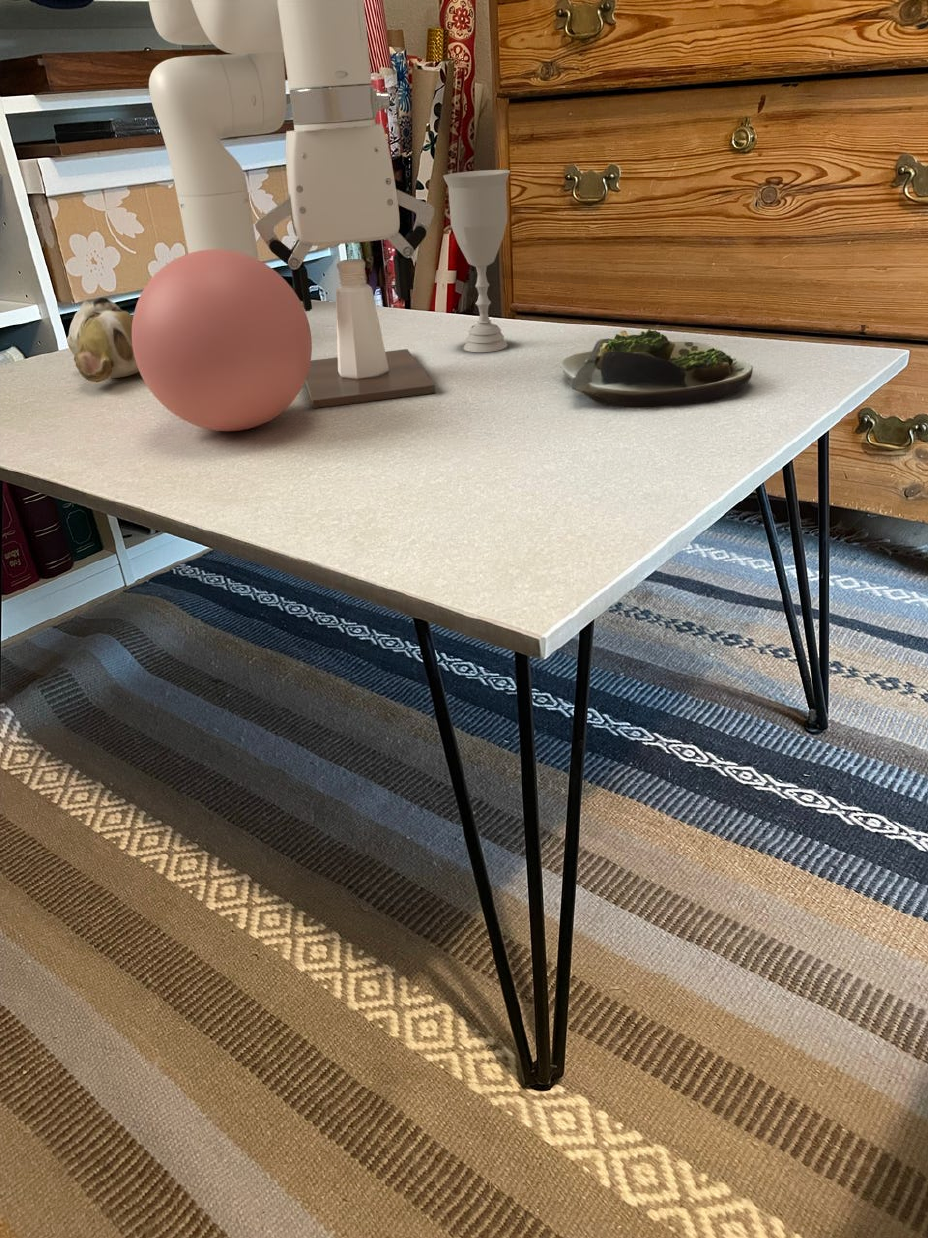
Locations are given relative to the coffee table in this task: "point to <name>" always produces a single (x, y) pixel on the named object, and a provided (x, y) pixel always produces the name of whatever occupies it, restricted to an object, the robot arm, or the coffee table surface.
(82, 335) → the ceramic sculpture
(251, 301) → the balloon
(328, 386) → the walnut board
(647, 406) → the salad plate
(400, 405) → the coffee table surface
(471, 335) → the chalice
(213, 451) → the coffee table surface
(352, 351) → the pepper shaker
